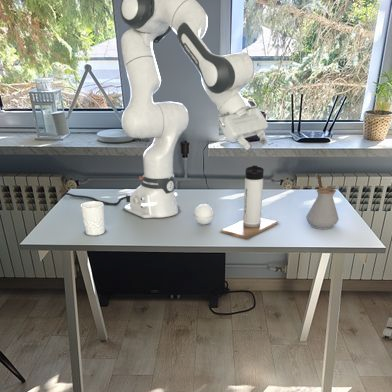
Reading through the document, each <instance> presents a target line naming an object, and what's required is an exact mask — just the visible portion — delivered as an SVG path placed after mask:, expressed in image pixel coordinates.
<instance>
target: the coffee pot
mask: <svg viewBox="0 0 392 392" xmlns="http://www.w3.org/2000/svg"><path fill="white" fill-rule="evenodd" d="M316 176H317V177H316ZM321 177H322V176H321V174H320V173H319V172H318V173H316V174H315V175H314V178H315V179H317V184H318V187H319V188H317V189H316V192H317V197H316V199H315V201H314V202H313V204H312V206H311V207H310V209H309V211H308V213H307V214H306V221H307V223H308V224H309V225H310V226H311V228H314V229H318V230H329V229H332V228H333V227H334V226H336V225H337V223H338V222H339V220H340V219H339V215H338V212H337V208H336V204H335V200H334V195H335V193H336V192H337V190H336V189H334V188H331V187H323V182H322V178H321Z"/></svg>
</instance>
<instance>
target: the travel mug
mask: <svg viewBox="0 0 392 392" xmlns="http://www.w3.org/2000/svg"><path fill="white" fill-rule="evenodd" d="M264 172H265V169H264V168H263V167H261V166H258V165H252V166H248V167H246V168H245V173H244V174H245V175H244V194H243V195H244V196H243V198H244V199H243V216H242V217H243V219H242V220H243V225H244V226H246V227H258V226H260V223H261V221H260V220H261V217H262V206H263V191H264V189H263V188H264V174H265V173H264Z"/></svg>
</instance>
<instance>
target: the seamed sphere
mask: <svg viewBox="0 0 392 392" xmlns="http://www.w3.org/2000/svg"><path fill="white" fill-rule="evenodd" d="M214 215H215V213H214V209H213V208H212V207H211V206H210V204H208V203H201V204H198V205H197V206H196V207H195V209H194V211H193V218H194V220H195V222H197V223H198V224H200V225H203V226H204V225H208V224H210V223H211V222H212V221H213V219H214Z"/></svg>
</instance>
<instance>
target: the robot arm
mask: <svg viewBox="0 0 392 392" xmlns="http://www.w3.org/2000/svg"><path fill="white" fill-rule="evenodd" d="M119 14H120V18H121V19H122V21H123V22H124V24H126V26H128V27H129V29H128V30H126V31H125V32H124V33H122V35H121V38H120V45H121V46H120V47H121V54H122V59H123V60H122V61H123V64H124V67H125V71H126V75H127V79H128V83H129V88H130V99H129V102H128V104H127V107H126V108H125V109H124V111H123V113H122V116H121V127H122V129H123V131H124V133H125V134H126V136H128V137H129V138H132V139H150V138H153V141H152V144H151V145H150V146H148V147H147V149H146V150H145V151H144V152H143V155H142V163H143V164H142V165H143V175H142V176H141V175H140V176H139V177H138V178H139V181H141V183H140V185H139V186H138V187H136V188H135V190H133V191H132V192H130V193H128V194H126V195H125V196H123V197H120V198H119V199H118V201H117V202H108V201H104V200H100V199H97V198H95V197H93V196H88V195H81V194H80V195H79V194H74V193H70V192H63V193H62V194H61V197H65V196H69V197H73V198H81V199H89V200H92V201H98V202H102V203H103V205H108V206H117V205H119V204H120V203H121V202H122V201H123V200H126V203H128V204H126V205H125V206H124V208H123V209H124V210H125V211H127V212H129V213H131V214H134V215H136V216H138V217H141V218H142V219H151V218H168V217H169V218H170V217H171V216H175V215H177V214H179V207H178V204H177V197H176V196H178V193H177V192H176V191H175V185H176V184H175V183H176V181H175V180H176V179H175V173H174V153H175V148H176V145H177V142H178V140H179V138H180V137H181V136H182V134H183V133H184V132H185V131H186V129H187V128H188V126H189V121H190V117H189V111H188V109H187V107H186V106H185V105H184V104H183V103H181V102H175V101H162V102H154V99H153V95H154V94H155V93H156V92H157V91H158V90H159V88H160V86H161V82H162V79H161V74H160V71H159V67H158V64H157V60H156V56H155V53H154V49H153V43H154V44H158V43H160V42H161V41H162V40H163V39H164V38H167V37H168V36H169V34H170V33H171V32H172V31H173V33H175V34H176V38H177V42H178V44H179V45H180V47H181V49H182V50H183V52H184V53H185V55H186V56H187V57H188V58H189V60H190V61H191V63H192V65H194V67H195V68H196V69H197V71H198V73H199V74H200V77H201V84H202V86H203V89H204V91H205V93H206V95H207V96H208V98H209V99H210V101H211V102H212V103H213V104H214V105H215V107H216V108H217V111H218V113H219V114H218V117H217V121H218V123H219V127H220V129H221V131H222V133H223V135H224V137H225V138H226V140H227V141H229V142H235V141H237V143H239V144H240V145H241V146H243V148H244V149H245V150H246V151H249V150H251V148H253V145H252V144H251V142H250V141H248V140H247V139H246V138H250V137H254V136H257V137H258V138H259V139H260V141H259V143H260V144H261V146H265V145H267V144H268V142H269V141H268V139H267V137H266V132H265V131H266V130H267V129H268V128H269V125H268V124H269V123H268V121H267V119H266V118H265V116H264V115H263V113H262V112H261V110H260V109H259V108H257V107H258V104H257V103H256V101H255V100H250V99H248V98H245V97H243V96H242V94H241V93H240V91H241V90H242V89H244V88H245V87H246V86H247V85H249V83H251V81H252V79H253V77H254V75H255V66H254V62H253V60H252V58H251V56H250V55H249V54H247V53H246V52H235V53H230V54H229V53H228V54H223V55H218V54H215V53H213V52H211V50H210V49H209V47H207V45H206V44H205V42H204V41H203V38H204V36H205V34H206V32H207V30H208V23H209V20H208V15H207V13H206V11H205V9H204V8H203V6H202V5H201V4H200V3H199V2H198V1H197V0H121V1H120V4H119Z"/></svg>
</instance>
